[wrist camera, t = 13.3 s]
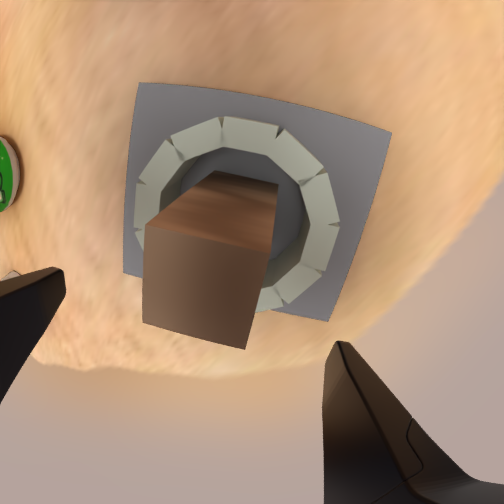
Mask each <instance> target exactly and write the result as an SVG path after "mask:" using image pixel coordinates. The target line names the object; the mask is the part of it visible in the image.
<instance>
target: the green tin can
mask: <svg viewBox="0 0 504 504" xmlns="http://www.w3.org/2000/svg"><path fill="white" fill-rule="evenodd" d="M19 180H20V167H19V162H18V158H17V155H16V153H15V150H14V149H13V148H12V146H11V145H10V144H8V142H7V141H6V140H5V139H4V138H2V137H1V136H0V212H2V211H4V210H6V209H7V208H8V207H9V206H10V205H11V204H12V203H13V200H14V198H15V195H16V191H17V189H18V186H19Z"/></svg>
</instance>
